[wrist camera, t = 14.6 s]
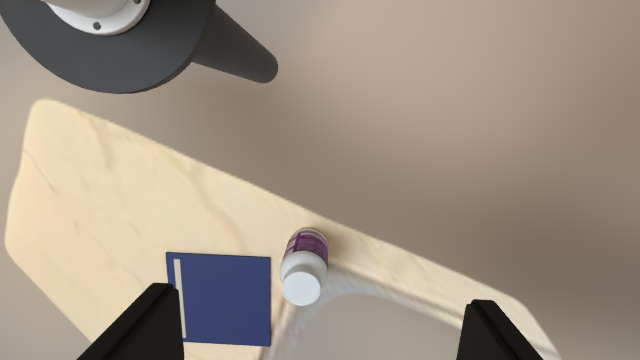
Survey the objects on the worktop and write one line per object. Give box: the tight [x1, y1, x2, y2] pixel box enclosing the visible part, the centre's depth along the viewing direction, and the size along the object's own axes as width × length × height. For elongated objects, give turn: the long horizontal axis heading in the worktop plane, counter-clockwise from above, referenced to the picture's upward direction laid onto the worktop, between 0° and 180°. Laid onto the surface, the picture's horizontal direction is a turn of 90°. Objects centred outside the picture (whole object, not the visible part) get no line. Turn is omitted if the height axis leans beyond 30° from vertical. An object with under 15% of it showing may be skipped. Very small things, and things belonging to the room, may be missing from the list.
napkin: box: [166, 252, 270, 347], centre depth 42 cm, size 14×14×1 cm
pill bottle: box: [280, 228, 328, 306], centre depth 35 cm, size 5×5×10 cm
